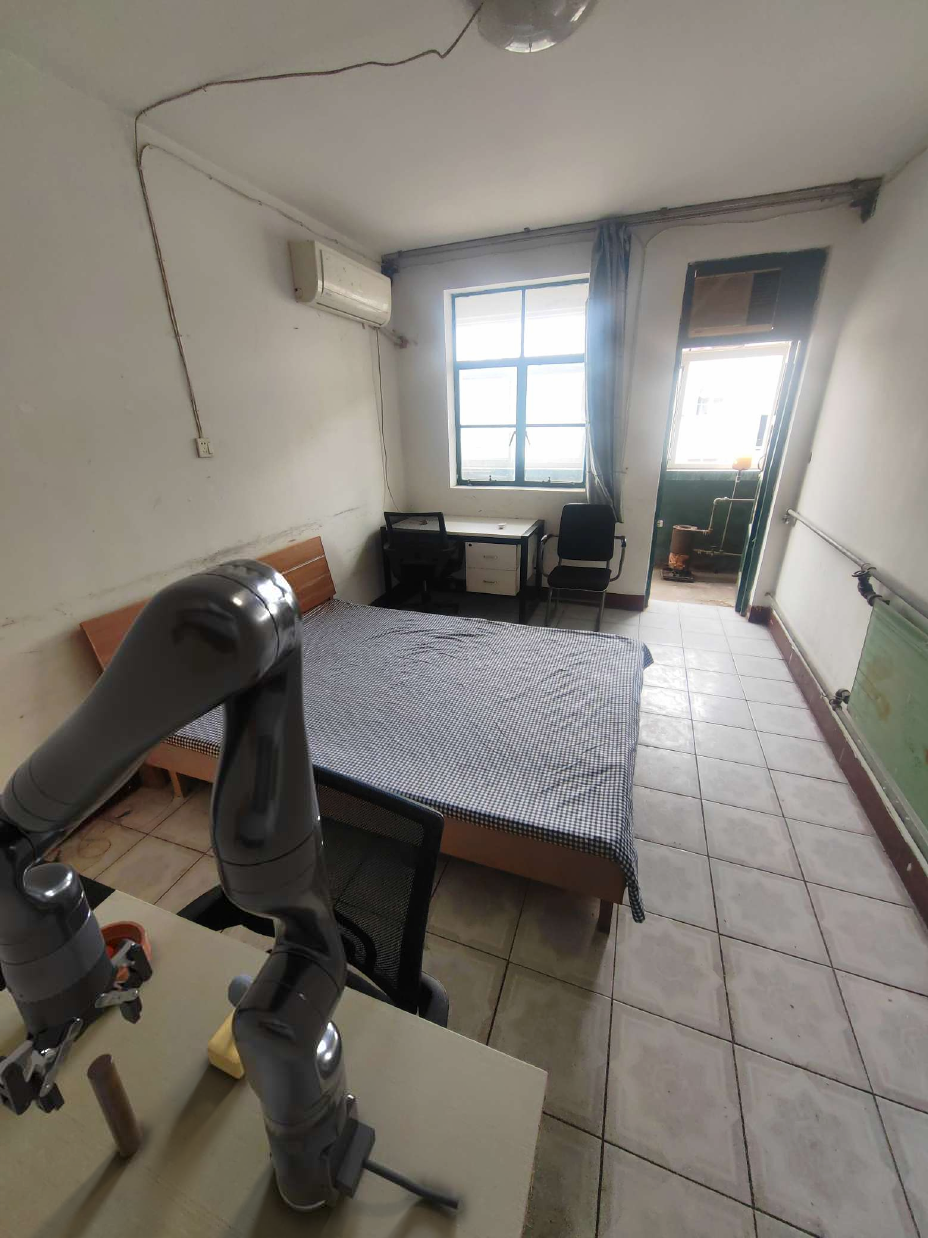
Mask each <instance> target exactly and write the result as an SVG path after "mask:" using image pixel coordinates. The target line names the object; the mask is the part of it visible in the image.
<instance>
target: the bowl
mask: <svg viewBox="0 0 928 1238" xmlns="http://www.w3.org/2000/svg"><path fill="white" fill-rule="evenodd" d="M100 929H101V932H102V935H103V938H104V941H105V944H106V946H109V947H111V948H113V950H114V956H115V955H116V954H117V953H118V952H119V950H118V946H119V944H120V942H121V941H122V940H124V939H128V940H131V941H133V942H135V943H137V944H139V945H141V946H142V947H143V950H144V952H145V954H146V957H147V959H148V962H149V964H150V963H151V959H152V948H151V945H150V942H149V938H148V935H147V931H146V930H145V928H144V926H143V925H142V924H141V923H138V922H136V921H133V920H121V921H117V922H111V923H109V924H106V925H104V926H101V927H100ZM129 976H130V974H129V972H128V970H127V968H126V967H124V966H120V967H118V975H117V978H116V981H115V982H118V981H126V980H127V978H128V977H129ZM109 1006H110V1005H108V1006H106V1007H105V1008H108V1007H109Z"/></svg>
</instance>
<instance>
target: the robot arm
mask: <svg viewBox="0 0 928 1238" xmlns="http://www.w3.org/2000/svg"><path fill="white" fill-rule="evenodd" d="M302 615H303V614H302V610H301V606H300V603H299V599H298V597H297V594H295V592H294V589H293V587H292V586H291V585H290V583H289V582H288V581H287V580H286V578H285V577H284V576H283V575H282V574H281V573H280V572H279V571H277V569H275V568H274V567H272V566H271V565H268V564H267V563H265V562H262V561H260V560H256V559H252V558H236V559H232V560H231V559H230V560H227V561H223V562H222V563H218V564H215V565H213V566H210V567H207V568H206V569H204V570H201V571H199V572H196V573H193V574H191V575H188V576H185V577H182V578H180V579H177V580H176V581H173V582H172V583H170V584H168V585H166V586H163V587H162V588H161V589H160V590H159V591H157V592H156V593H155V594H154V595H152V597H151V598H149V600H148V601H147V602H146V603H145V605H144V606H143V607H142V608H141V610H140V612H139V613H138V614H137V616H136V618H134V620H133V622H132V623H131V624H130V627H129V628H128V630H127V631H126V632H125V635H124V636H123V638H122V640H121V641H120V643H119V644H118V647H117V648H116V650H115V652H114V654H113V655H112V657H111V658H110V660H109V662H108V664H107V666H106V667H105V669H104V670H103V672H102V673H101V675H100V676H99V678H98V679H97V680H96V682H95V683H94V685H93V686H92V688H91V689H90V691H89V692H88V693H87V694H86V696H85V697H84V698H83V700H82V701H81V703H79V705H78V706H77V707H76V708H75V709H74V710H73V711H72V713H71V714H70V715H69V716H68V717H67V718H66V719H65V720H64V721H63V722H62V723H61V724H60V725H59V726H57V728H56V729H54V731H53V732H52V733H51V734H49V736H47V738H45V739H44V741H43V742H42V743H40V745H39V746H38V747H37V748H36V749H35V750H34V751H33V752H32V753H31V754H30V755H29V756H28V757H27V758H26V759H25V760H24V761H23V762H22V763H21V764H20V765H19V766H18V768H17V769H16V770H14V771H13V773H12V775H11V776H10V778H9V779H8V781H7V783H6V784H5V786H4V788H3V791H2V793H0V966H1V967H0V968H1V972H2V976H3V979H4V980H5V987H6V990H7V991H8V993H9V994H10V995H11V997H12V999H13V1000H14V1003H15V1005H16V1008H17V1009H18V1012H19V1014H20V1016H21V1018H22V1020H23V1023H24V1025H25V1027H26V1035H25V1041H24V1042H23V1043H22V1044H21V1045H19V1047H17V1048H16V1049H15V1050H14V1051H13V1052H12V1053H11V1054H10V1055H9V1056H8V1057H7V1056H6V1055H3V1054H1V1055H0V1103H1V1105H2V1106H4V1107H6V1108H7V1109H8V1110H10V1111H11V1112H12V1113H14V1114H15V1115H17V1116H21V1115H24V1113H25V1112H27V1110H29V1108H30V1106H31V1104H32V1102H34V1104H35V1106H36V1107H37V1108H38V1109H39V1110H40V1111H42V1112H44V1113H45V1114H51V1113H52V1111H56V1112H58V1111H59V1110H61V1108H62V1107H63V1106H64V1105H65V1103H66V1102H65V1099H64V1097H63V1095H62V1093H61V1090H60V1088H59V1086H58V1084H57V1083H56V1082H55V1081H56V1079H57V1076H58V1073H59V1071H60V1069H61V1067H63V1066H64V1065H65V1064H66V1062H67V1060H68V1057H69V1055H70V1053H71V1050H72V1048H73V1044H75V1043H76V1042H77V1041H78V1040H79V1039H80V1038H81V1037H82V1036H83V1035H84V1033H85V1032H86V1031H87V1029H88V1028H89V1027H90V1026H91V1025H92V1024H94V1023H95V1022H96V1021H97V1020H98V1019H99V1018H100V1017H101V1016H102V1015H103V1014H104V1012H105V1011H104V1010H105V1009H106V1008H107V1007H109V1006H114V1005H115V1006H116V1005H117V1006H118V1007H119V1011H120V1013H121V1016H122V1018H123V1019H124V1020H126V1021H127V1022H129V1023H131V1024H133V1025H136V1024H137V1022H139V1021H140V1019H141V1018H142V1017H141V1012H142V1011H143V1003H142V1001H141V997H140V992H141V986H143V983H147V982H148V981H149V980H150V979H151V978H152V976H153V972H154V971H153V969H152V967H151V964H150V963H149V962H148V959H147V957H146V954H145V952H144V950H143V947H142V946H141V945H139V944H137V943H135V942H133V941H131V940H128V939H124V940H122V941H121V942H120V944H119V946H118V950H119V952H118V953H117V954H116V955H115V956H114V957H113V958H112V959H110V956H109V953H108V950H107V947H106V944H105V941H104V938H103V935H102V932H101V929H100V928H101V926H100V924H99V921H98V918H97V917H96V915H95V913H94V912H93V911H92V908H91V907H90V905H89V901H88V899H87V896H86V893H85V890H84V887H83V886H84V885H83V884H82V881H81V879H80V877H79V874H78V873H77V871H76V869H75V868H73V867H72V866H71V865H70V864H67V863H64V862H48V863H43V864H40V865H37V864H38V863H40V862H41V861H42V860H43V859H44V858H45V857H46V856H47V855H48V854H50V853H51V851H53V850H54V849H55V848H56V847H57V846H58V845H59V844H60V843H61V842H62V841H64V840H65V839H66V838H67V837H68V836H69V835H70V834H71V833H73V831H74V830H76V828H77V827H78V826H79V825H81V823H82V822H83V821H84V820H85V819H87V818H88V817H89V816H91V815H92V814H93V813H94V812H96V811H97V810H98V809H99V808H100V807H101V806H102V805H104V803H106V802H107V801H108V800H109V799H110V798H112V796H113V795H114V794H116V793H117V792H118V791H119V790H120V789H121V788H122V787H123V786H124V785H125V784H126V783H127V782H129V780H130V779H131V778H132V777H133V776H134V775H135V773H137V771H138V770H139V769H140V768H141V767H142V765H143V764H144V763H145V762H146V760H147V759H148V757H149V756H150V755H151V754H152V753H153V752H154V750H156V749H157V748H158V747H159V746H160V745H161V744H162V743H164V742H165V741H166V740H168V739H169V738H171V736H173V735H175V734H176V733H178V731H180V730H182V729H183V728H185V727H187V726H188V725H190V724H192V723H193V722H195V721H196V720H199V719H200V718H201V717H203V716H205V715H206V714H208V713H211V712H212V711H213V710H215V709H217V708H219V707H220V706H221V709H222V729H221V730H222V731H221V738H220V745H219V751H218V757H217V761H216V766H215V773H214V778H213V783H212V789H211V796H210V802H209V811H208V812H209V813H208V814H209V815H208V833H209V839H210V845H211V850H212V854H213V858H214V863H215V867H216V871H217V876H218V879H219V882H220V886H221V889H222V891H223V892H224V894H225V895H226V897H227V898H228V900H229V901H230V902H231V903H232V904H234V905H235V906H237V908H239V909H241V910H243V911H244V912H247V913H250V914H252V915H255V916H257V917H261V918H266V919H270V920H272V921H273V926H274V935H275V937H274V944H273V947H272V949H271V952H270V953H269V955H268V957H267V958H266V960H265V961H264V963H263V965H262V966H261V968H260V969H259V971H258V972H257V974H256V976H255V977H254V978H253V982H252V983H251V985H250V987H249V988H248V990H247V991H246V993H245V994H244V996H243V997H242V999H241V1001H240V1002H239V1004H238V1005H237V1007H236V1009H235V1008H234V1009H235V1011H234V1013H233V1017H232V1023H231V1031H232V1037H233V1040H234V1044H235V1047H236V1050H237V1052H238V1055H239V1058H240V1061H241V1063H242V1066H243V1069H244V1076H245V1078H246V1081H247V1083H248V1085H249V1087H250V1088H251V1090H252V1091H253V1093H254V1094H255V1096H256V1098H257V1099H258V1100H259V1105H260V1110H261V1113H262V1114H261V1115H262V1118H263V1122H264V1128H265V1132H266V1136H267V1141H268V1144H269V1145H268V1146H269V1150H270V1151H269V1159H272V1162H273V1167H274V1170H275V1178H276V1183H277V1188H278V1191H279V1194H280V1196H281V1199H283V1201H284V1202H285V1204H286V1205H287V1206H288V1207H289V1208H291V1209H293V1210H294V1211H298V1212H302V1213H306V1212H307V1213H308V1212H313V1211H316V1210H318V1209H320V1208H322V1207H324V1206H328V1207H330V1208H331V1209H332V1208H335V1206H336V1205H337V1203H338V1200H339V1197H340V1195H341V1194H344V1195H346V1196H347V1197H349V1198H351V1199H354V1197H355V1194H356V1192H357V1189H358V1186H359V1185H360V1181H361V1178H362V1176H363V1173H364V1171H365V1170H367V1171H369V1172H371V1173H373V1174H374V1175H376V1176H379V1177H380V1178H382V1179H385V1180H387V1181H389V1182H391V1183H392V1184H395V1185H397V1186H398V1187H400V1188H402V1189H404V1190H406V1191H408V1192H409V1193H412V1194H413V1195H416V1196H418V1197H421V1198H424V1199H425V1200H428V1201H431V1202H434V1203H436V1204H439V1205H442V1206H445V1207H448V1208H451V1209H454V1210H458V1208H459V1201H460V1200H459V1198H457V1197H454V1196H451V1195H448V1194H446V1193H442V1192H440V1191H436V1190H433V1189H431V1188H428V1187H426V1186H423V1185H421V1184H419V1183H417V1182H414V1181H413V1180H411V1179H409V1178H407V1177H405V1176H403V1175H402V1174H399V1173H398V1172H395V1171H394V1170H392V1169H390V1168H387V1167H385V1166H384V1165H382V1164H379V1163H377V1162H375V1161H373V1160H372V1159H369V1158H370V1156H371V1153H372V1150H373V1148H374V1145H375V1142H376V1130H375V1128H374V1127H371V1126H370V1125H367V1123H364V1122H362V1121H360V1120H359V1113H358V1104H357V1097H356V1096H355V1095H354V1094H351V1093H350V1092H349V1087H348V1078H347V1072H346V1063H345V1055H344V1046H343V1045H344V1044H343V1039H342V1036H341V1032H340V1030H339V1027H338V1026H337V1025H336V1023H335V1022H334V1021H333V1020H332V1018H333V1017H334V1014H335V1012H336V1010H337V1008H338V1006H339V1003H340V1002H341V1000H342V997H343V994H344V991H345V988H346V983H347V980H348V963H347V962H348V961H347V956H346V952H345V949H344V944H343V942H342V938H341V933H340V930H339V928H338V924H337V921H336V917H335V913H334V909H333V905H332V899H331V893H330V891H331V890H330V886H329V879H328V874H327V867H326V859H325V853H324V852H325V850H324V838H323V830H322V822H321V815H320V808H319V803H318V796H317V791H316V785H315V778H314V769H313V762H312V760H313V759H312V753H311V748H310V746H311V745H310V741H309V734H308V729H307V721H306V711H305V698H304V697H305V696H304V694H305V693H304V627H303V626H304V625H303V624H304V623H303V616H302ZM36 865H37V866H36ZM120 966H124V967H126V968H127V970H128V972H129V974H130V976H129V977H128V978H127V980H126V981H118V982H115V981H116V978H117V975H118V967H120ZM108 1005H109V1006H108ZM106 1006H107V1007H106ZM55 1049H56V1050H55ZM30 1058H31V1059H30ZM29 1059H30V1060H31V1066H30V1068H29V1067H28V1065H29ZM28 1071H29V1072H28ZM25 1074H27V1077H26V1078H25Z"/></svg>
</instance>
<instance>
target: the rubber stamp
mask: <svg viewBox="0 0 928 1238" xmlns="http://www.w3.org/2000/svg"><path fill="white" fill-rule="evenodd" d="M253 980H254V978H252V977H251V976H250V975H249V974H248V973H247V974H246V973H241V974H238V975H236V976H235V977H234V978H233V979H232V980H231V981H230V983H229V985H228V987H227V998H228V1002H229V1003H230V1004H231V1005H232V1006H233V1010H232V1011H231V1013H230V1014H229V1015H228V1016H227V1018H226V1020H225V1021H224V1022H223V1024H222V1025H221V1026H220V1027H219V1029H218V1030H217V1032H216V1033H215V1034H214V1035H213V1036H212V1038H211V1040H210V1041H209V1042H208V1044H207V1045H206V1050H207V1054H208V1058H209V1061H210V1064H211V1065H212V1066H214V1067H217V1068H218V1069H220V1070H221V1071H223V1072H225V1073H226V1074H228V1075H230V1076H232V1077H233V1078H236V1079H238V1080H240V1078H242V1077H243V1075H245V1073H244V1069H243V1066H242V1063H241V1061H240V1058H239V1055H238V1052H237V1050H236V1047H235V1044H234V1040H233V1037H232V1031H231V1023H232V1017H233V1013H234V1011H235V1009H236V1007H237V1005H238V1004H239V1002H240V1001H241V999H242V997H243V996H244V994H245V993H246V991H247V990H248V988H249V987H250V985H251V983H252V982H253Z"/></svg>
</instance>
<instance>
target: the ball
mask: <svg viewBox="0 0 928 1238" xmlns="http://www.w3.org/2000/svg"><path fill="white" fill-rule="evenodd" d="M106 947H107V950H108V953H109V956H110V959H112V958H113V957H114V950H113V948H111V947H109V946H106Z"/></svg>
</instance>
